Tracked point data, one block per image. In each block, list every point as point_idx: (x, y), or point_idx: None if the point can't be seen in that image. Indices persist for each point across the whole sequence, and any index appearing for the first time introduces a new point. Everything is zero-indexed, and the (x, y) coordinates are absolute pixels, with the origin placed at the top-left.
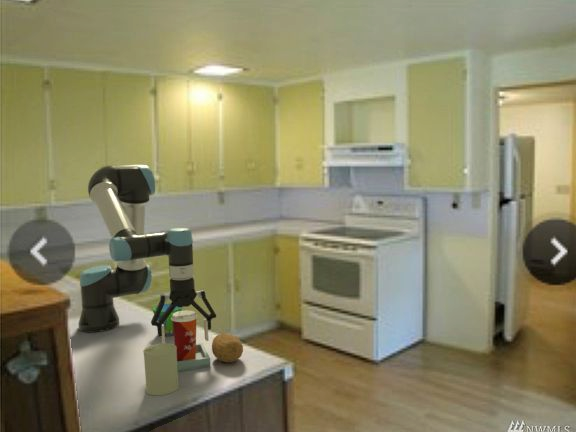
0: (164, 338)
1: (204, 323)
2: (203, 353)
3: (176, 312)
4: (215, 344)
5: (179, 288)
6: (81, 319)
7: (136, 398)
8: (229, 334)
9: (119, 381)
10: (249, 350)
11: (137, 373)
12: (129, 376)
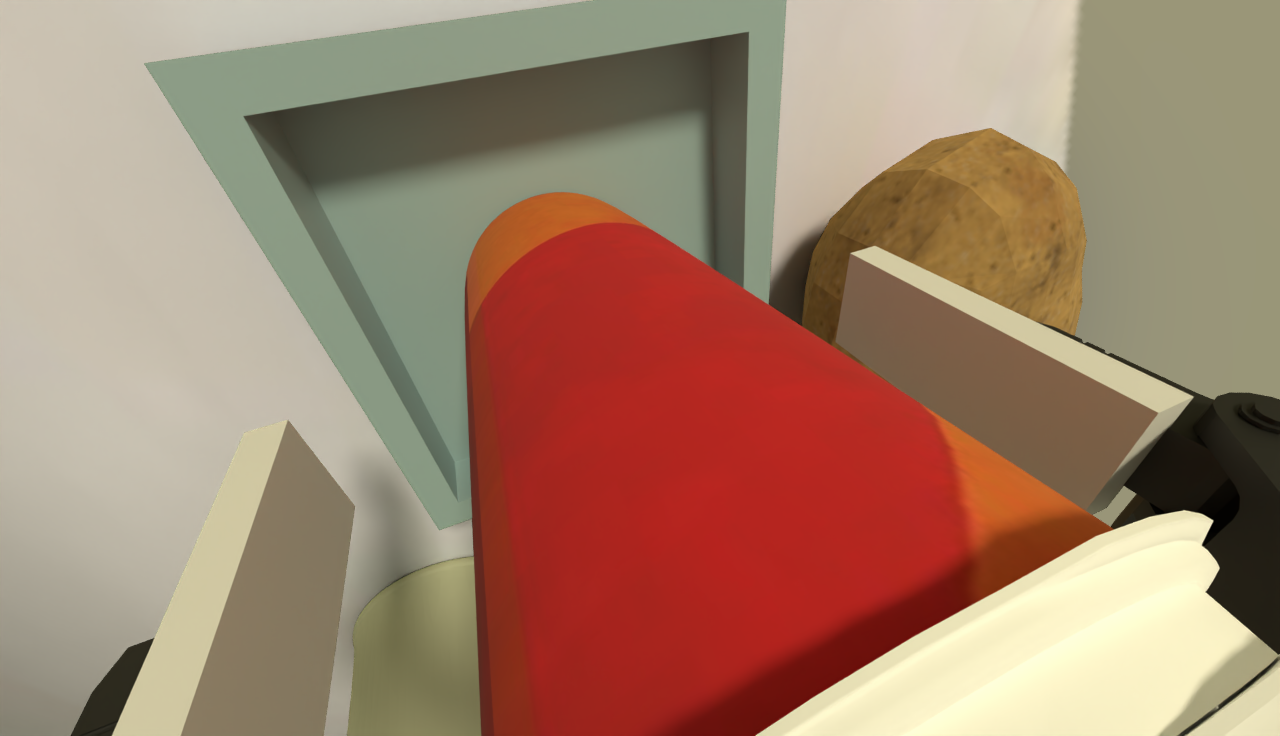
0: (333, 622)
1: (1050, 407)
2: (731, 264)
3: None
4: None
5: None
6: None
7: (344, 706)
8: (1080, 261)
9: (18, 623)
10: (1041, 112)
11: (109, 495)
12: (55, 548)
